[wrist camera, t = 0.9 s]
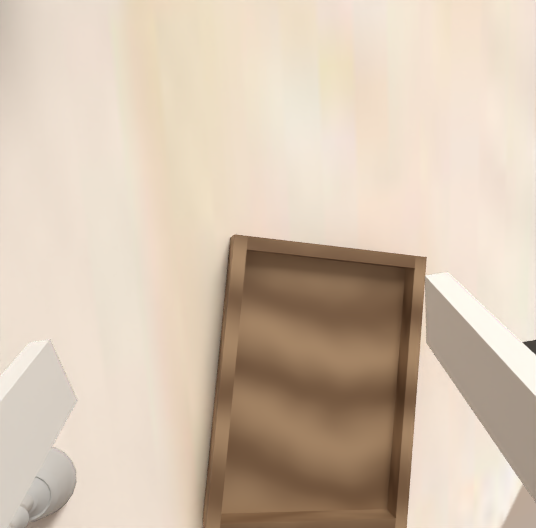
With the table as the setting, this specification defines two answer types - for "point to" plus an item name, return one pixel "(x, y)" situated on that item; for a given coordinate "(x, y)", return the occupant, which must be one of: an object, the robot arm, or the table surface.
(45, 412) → the robot arm
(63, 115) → the table surface
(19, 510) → the chalice
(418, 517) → the table surface
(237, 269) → the tray
